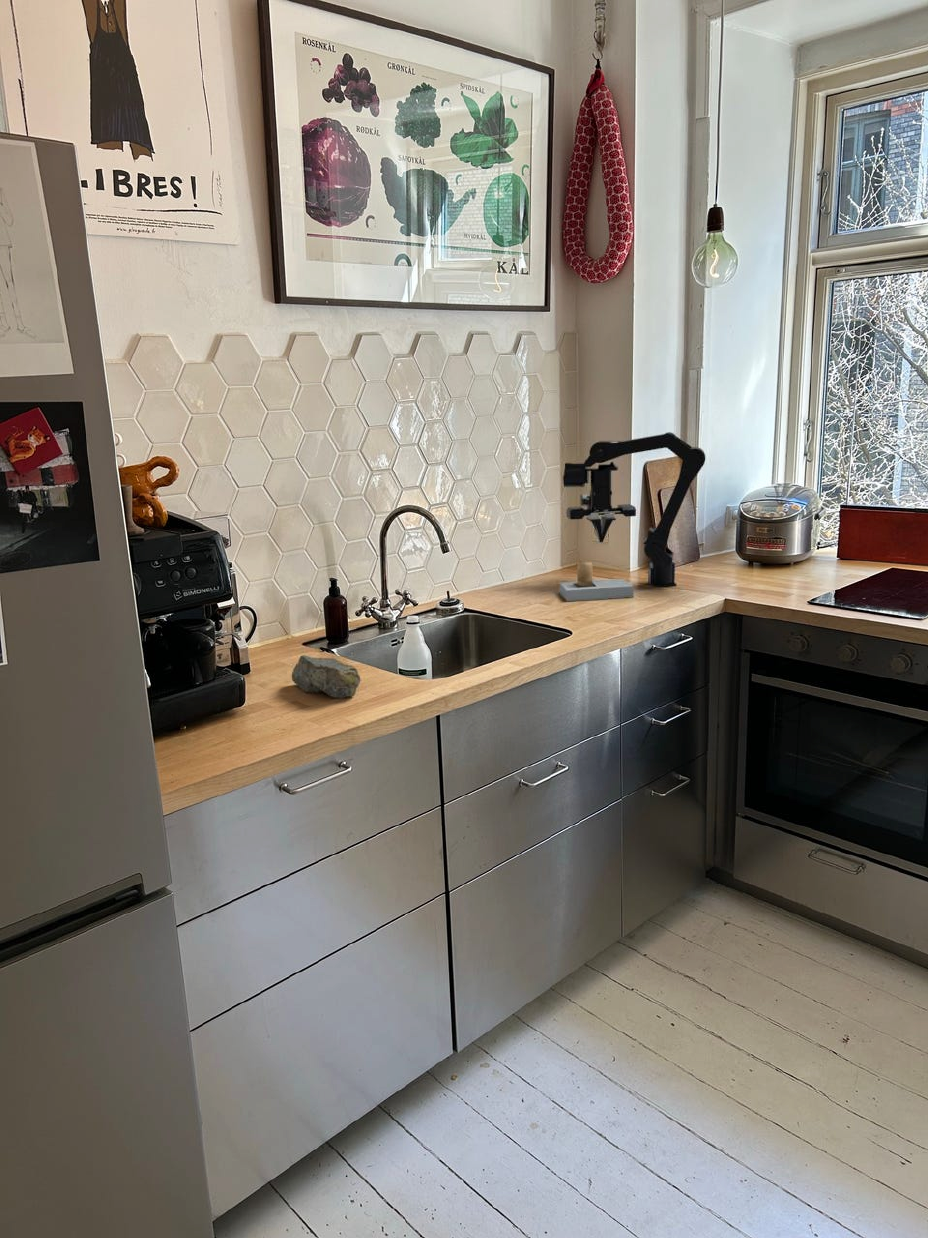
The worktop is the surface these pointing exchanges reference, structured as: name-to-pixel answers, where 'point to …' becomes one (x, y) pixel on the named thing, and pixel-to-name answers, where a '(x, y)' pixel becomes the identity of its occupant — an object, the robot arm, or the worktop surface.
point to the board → (596, 590)
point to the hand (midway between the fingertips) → (601, 542)
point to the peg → (584, 574)
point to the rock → (326, 676)
